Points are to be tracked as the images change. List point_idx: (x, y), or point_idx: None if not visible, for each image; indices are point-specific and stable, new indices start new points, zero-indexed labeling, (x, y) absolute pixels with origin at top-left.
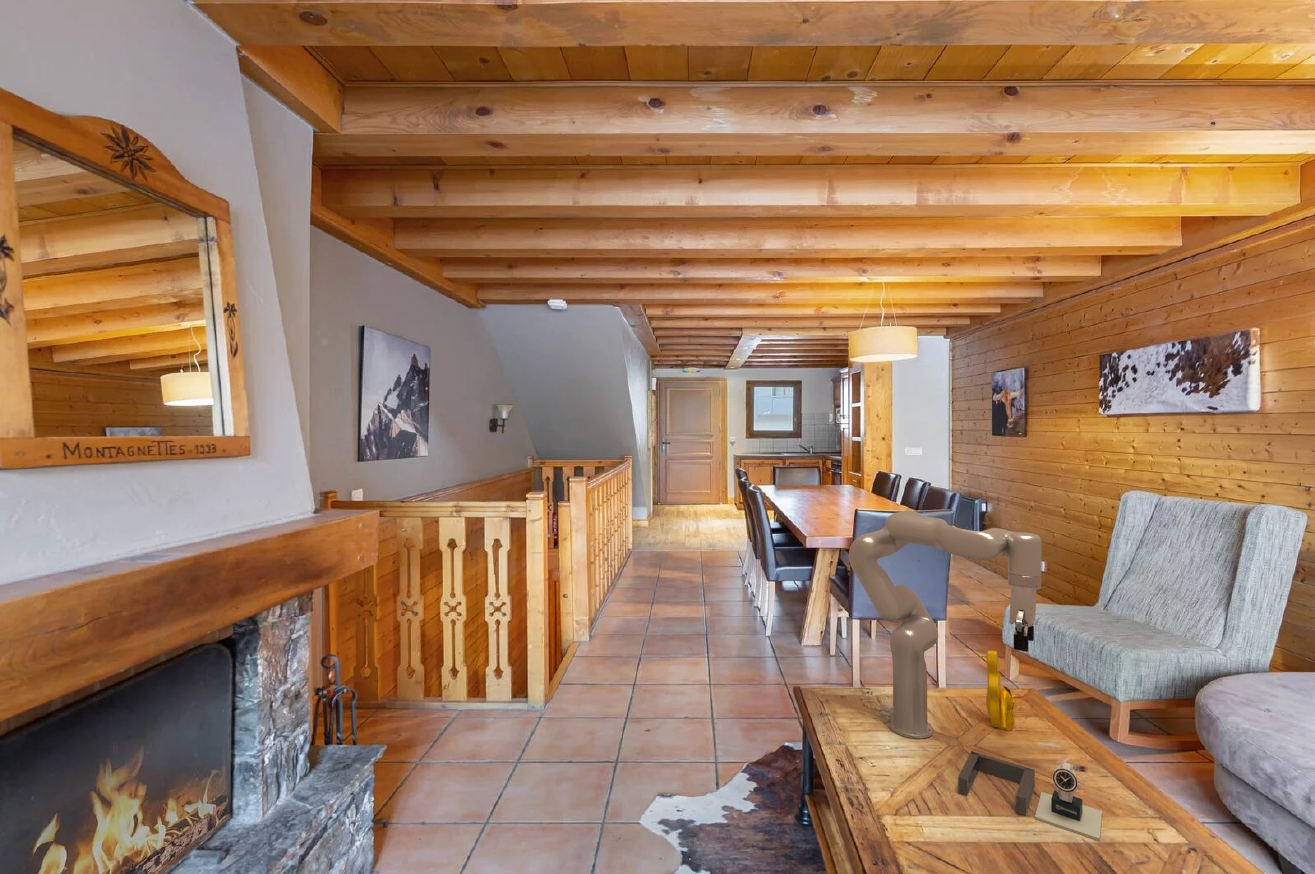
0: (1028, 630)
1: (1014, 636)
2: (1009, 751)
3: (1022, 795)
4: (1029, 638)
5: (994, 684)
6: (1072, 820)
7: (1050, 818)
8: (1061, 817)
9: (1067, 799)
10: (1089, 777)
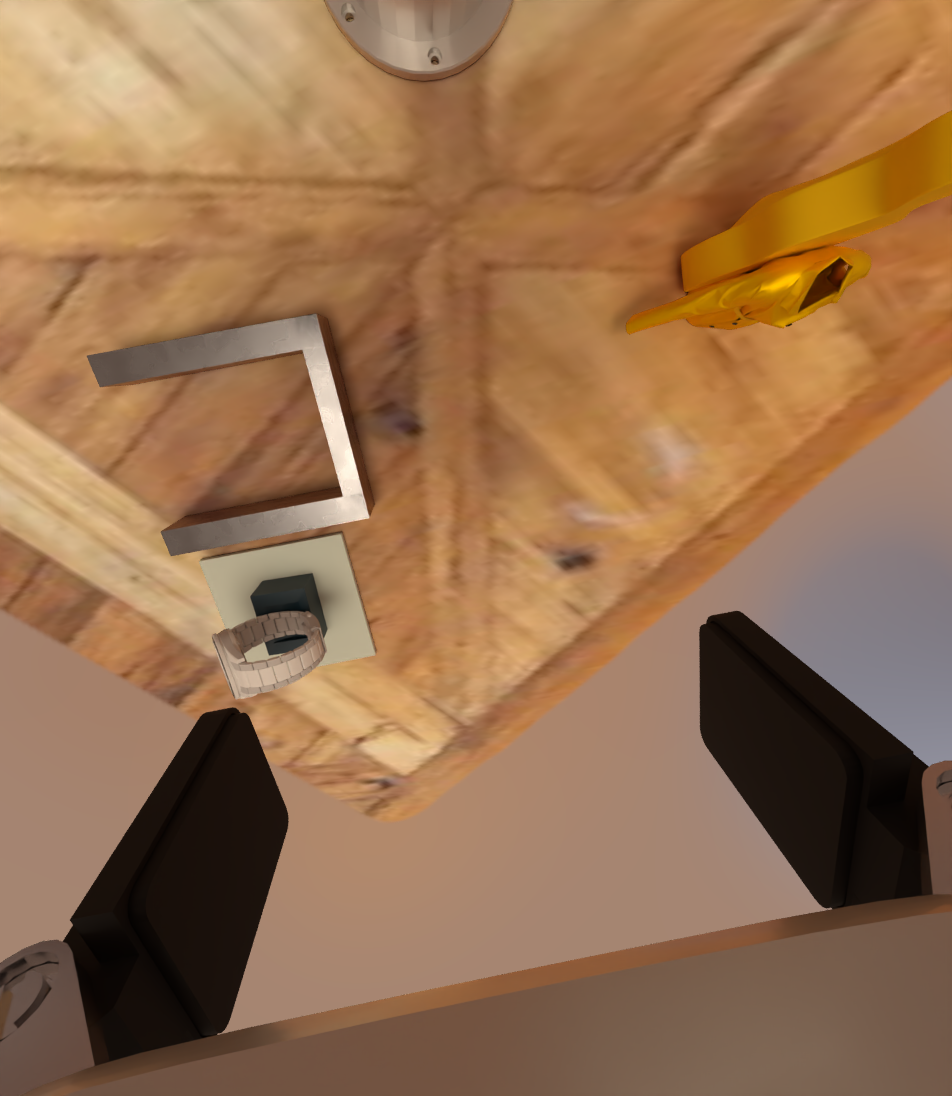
0: (778, 801)
1: (115, 872)
2: (530, 378)
3: (180, 543)
4: (711, 724)
5: (803, 222)
6: None
7: (227, 588)
8: None
9: (243, 643)
10: (538, 587)
